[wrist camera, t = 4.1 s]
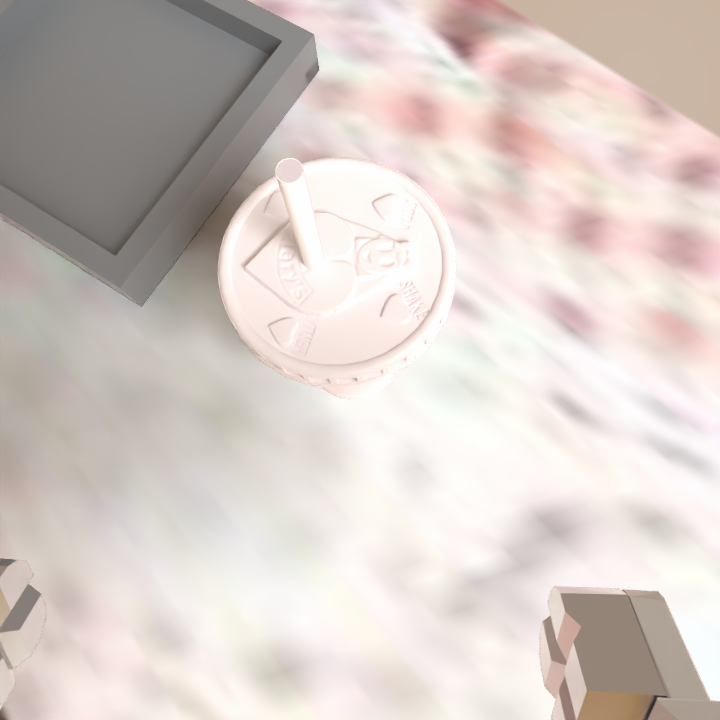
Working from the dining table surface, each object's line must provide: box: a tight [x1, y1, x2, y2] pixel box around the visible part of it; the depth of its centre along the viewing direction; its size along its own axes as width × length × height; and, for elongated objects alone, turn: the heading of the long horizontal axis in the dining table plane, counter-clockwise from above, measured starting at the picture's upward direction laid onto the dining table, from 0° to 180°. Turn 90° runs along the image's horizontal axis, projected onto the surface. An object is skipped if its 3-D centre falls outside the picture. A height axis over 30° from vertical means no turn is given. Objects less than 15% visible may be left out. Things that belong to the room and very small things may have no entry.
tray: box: [0, 0, 319, 307], centre depth 27 cm, size 14×14×2 cm
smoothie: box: [218, 157, 456, 399], centre depth 18 cm, size 6×6×14 cm
